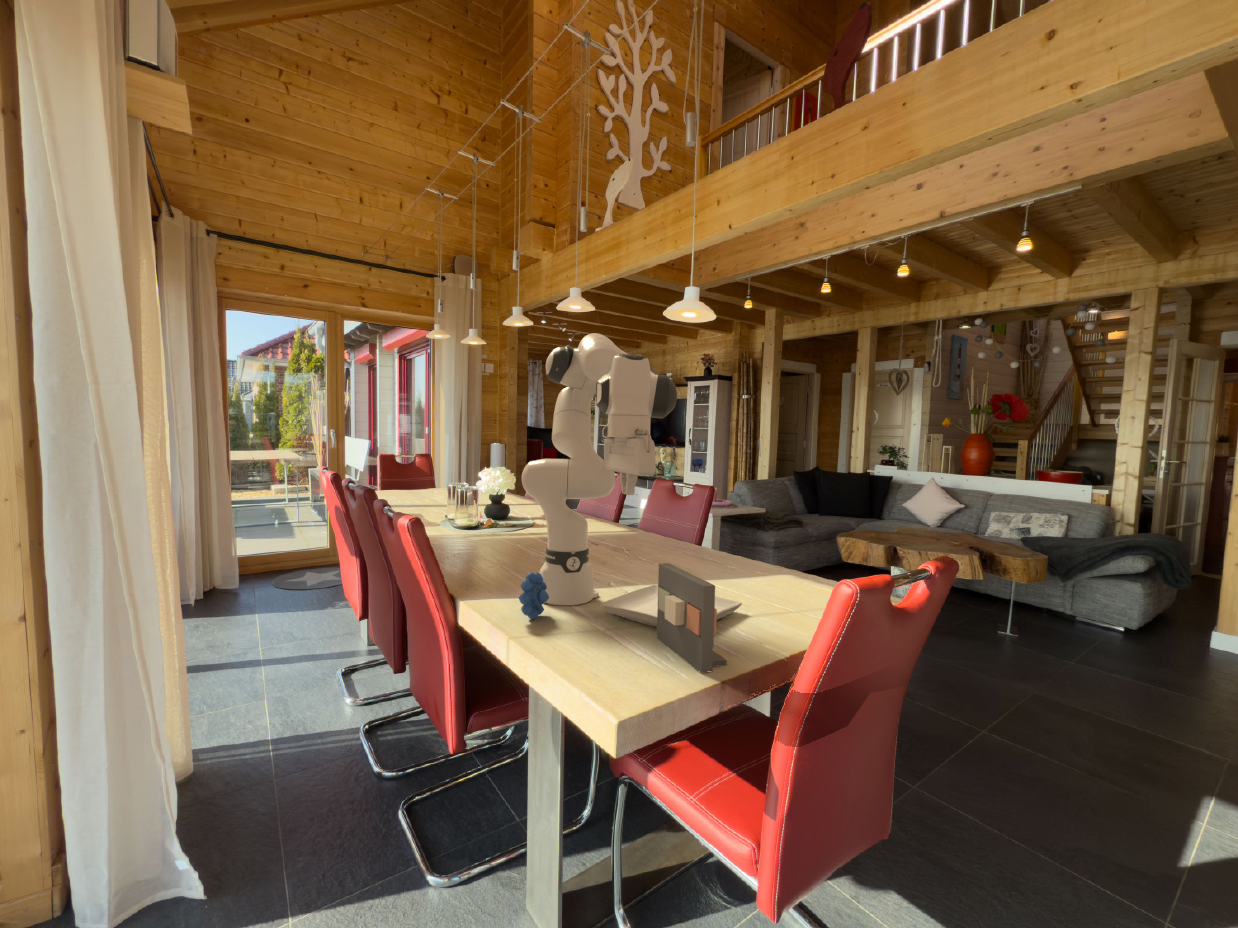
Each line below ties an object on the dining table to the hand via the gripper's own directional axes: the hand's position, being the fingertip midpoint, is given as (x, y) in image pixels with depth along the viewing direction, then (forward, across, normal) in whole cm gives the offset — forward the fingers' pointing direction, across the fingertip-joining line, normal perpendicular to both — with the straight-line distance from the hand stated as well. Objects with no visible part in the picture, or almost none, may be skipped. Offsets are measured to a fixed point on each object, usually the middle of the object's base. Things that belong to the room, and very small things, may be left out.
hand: (628, 494), depth 119 cm
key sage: (+26, -1, -11) cm, 28 cm away
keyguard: (+33, -8, -12) cm, 36 cm away
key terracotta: (+26, -14, -11) cm, 31 cm away
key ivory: (+26, -8, -9) cm, 29 cm away
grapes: (+33, +23, +14) cm, 43 cm away
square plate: (+34, +17, -20) cm, 42 cm away
